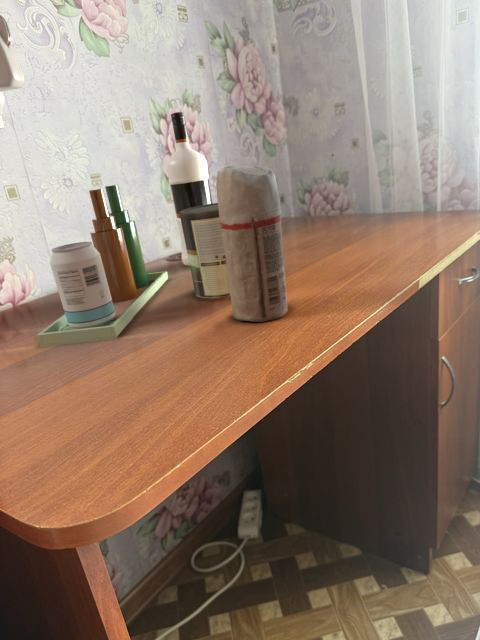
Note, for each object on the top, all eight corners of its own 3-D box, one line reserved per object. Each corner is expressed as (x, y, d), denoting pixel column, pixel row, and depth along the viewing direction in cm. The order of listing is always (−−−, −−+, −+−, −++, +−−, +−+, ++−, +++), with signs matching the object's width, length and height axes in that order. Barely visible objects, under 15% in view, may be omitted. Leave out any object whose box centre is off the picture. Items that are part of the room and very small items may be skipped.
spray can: (262, 302, 76) (242, 163, 68) (302, 308, 70) (286, 158, 63) (220, 319, 71) (194, 171, 63) (260, 328, 65) (237, 167, 58)
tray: (40, 348, 70) (36, 335, 69) (114, 287, 99) (111, 277, 98) (117, 339, 69) (113, 326, 68) (169, 280, 98) (166, 271, 97)
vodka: (196, 270, 103) (166, 111, 92) (175, 265, 110) (145, 117, 99) (233, 259, 108) (209, 107, 96) (211, 256, 115) (186, 113, 103)
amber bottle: (103, 304, 86) (74, 193, 79) (114, 295, 90) (86, 190, 83) (133, 301, 85) (105, 188, 78) (141, 292, 90) (116, 185, 83)
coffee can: (182, 299, 83) (164, 214, 78) (221, 282, 91) (207, 202, 86) (229, 303, 77) (214, 211, 72) (267, 284, 85) (255, 199, 80)
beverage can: (116, 314, 79) (96, 238, 74) (118, 326, 73) (97, 244, 68) (71, 324, 77) (47, 247, 73) (69, 337, 71) (44, 254, 66)
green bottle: (118, 292, 93) (91, 188, 86) (126, 284, 97) (102, 186, 90) (145, 288, 92) (120, 184, 85) (152, 281, 97) (130, 182, 90)
